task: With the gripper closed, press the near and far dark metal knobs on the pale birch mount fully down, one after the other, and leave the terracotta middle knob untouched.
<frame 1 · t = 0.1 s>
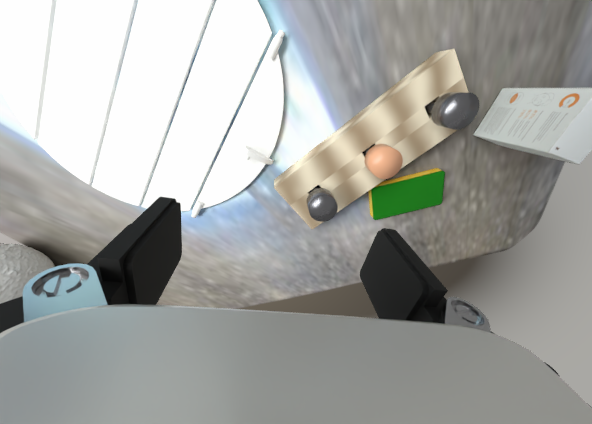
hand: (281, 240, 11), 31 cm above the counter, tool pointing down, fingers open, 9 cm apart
small box: (499, 117, 41), on the counter
middle knob: (377, 157, 35), point 6 cm above the counter, slide at 0.0 cm
lazy susan: (156, 94, 35), on the counter
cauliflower: (44, 280, 49), on the counter
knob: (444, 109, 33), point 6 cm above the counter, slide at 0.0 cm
knob mount: (363, 148, 41), on the counter
dish sponge: (401, 191, 47), on the counter
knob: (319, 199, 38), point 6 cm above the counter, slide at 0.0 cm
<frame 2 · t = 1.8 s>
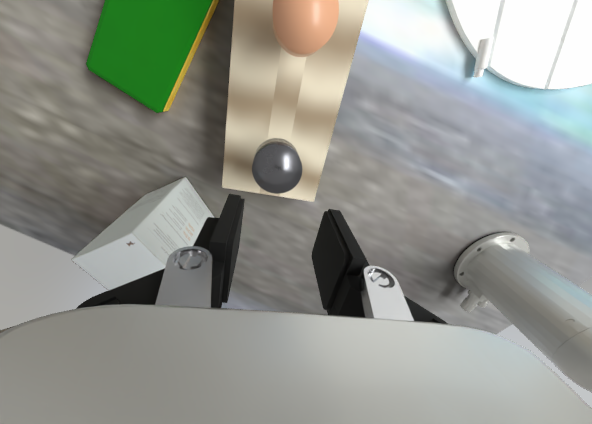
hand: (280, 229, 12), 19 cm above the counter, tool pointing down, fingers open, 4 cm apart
small box: (184, 209, 32), on the counter
middle knob: (300, 24, 18), point 6 cm above the counter, slide at 0.0 cm
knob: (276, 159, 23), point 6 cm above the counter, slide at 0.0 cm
knob mount: (293, 39, 24), on the counter
dish sponge: (162, 29, 23), on the counter
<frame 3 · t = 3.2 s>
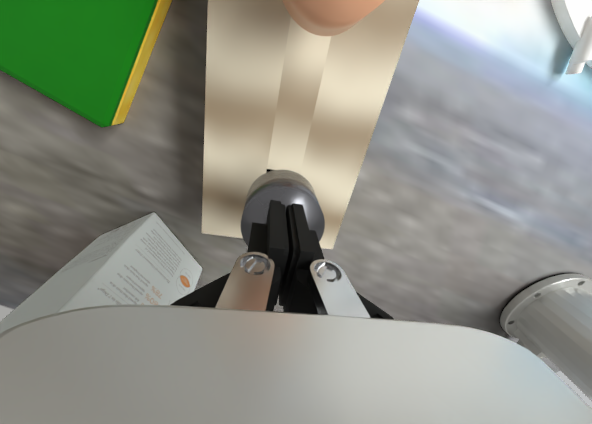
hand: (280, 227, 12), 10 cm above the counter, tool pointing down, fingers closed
small box: (156, 251, 24), on the counter
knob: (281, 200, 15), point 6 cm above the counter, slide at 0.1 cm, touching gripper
knob mount: (307, 15, 16), on the counter
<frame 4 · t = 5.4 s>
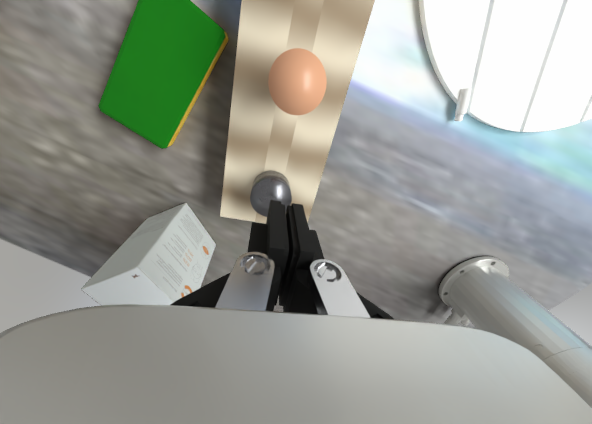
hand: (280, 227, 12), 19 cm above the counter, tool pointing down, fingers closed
small box: (184, 231, 34), on the counter
middle knob: (294, 84, 20), point 6 cm above the counter, slide at 0.0 cm
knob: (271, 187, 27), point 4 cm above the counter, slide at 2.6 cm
knob mount: (289, 85, 26), on the counter
dish sponge: (169, 74, 25), on the counter
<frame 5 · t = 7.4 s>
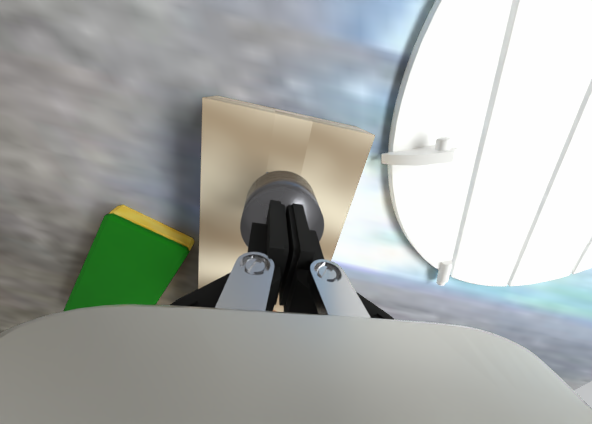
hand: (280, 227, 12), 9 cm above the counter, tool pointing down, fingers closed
knob mount: (261, 268, 25), on the counter
dish sponge: (136, 266, 24), on the counter
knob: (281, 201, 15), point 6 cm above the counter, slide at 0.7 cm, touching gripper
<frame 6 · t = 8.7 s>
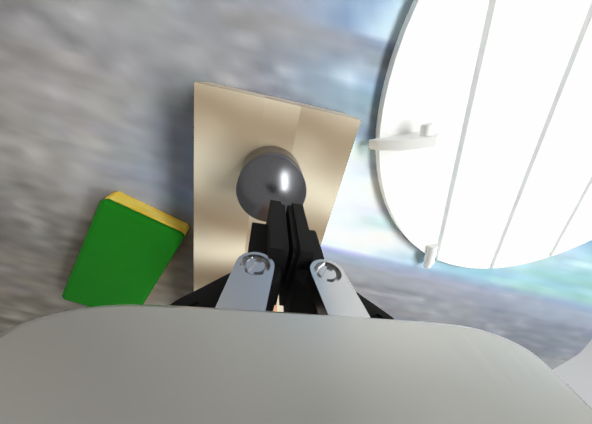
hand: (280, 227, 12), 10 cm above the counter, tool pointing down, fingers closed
middle knob: (251, 300, 20), point 6 cm above the counter, slide at 0.0 cm
lazy susan: (569, 105, 22), on the counter
knob mount: (255, 253, 26), on the counter
dish sponge: (133, 252, 25), on the counter
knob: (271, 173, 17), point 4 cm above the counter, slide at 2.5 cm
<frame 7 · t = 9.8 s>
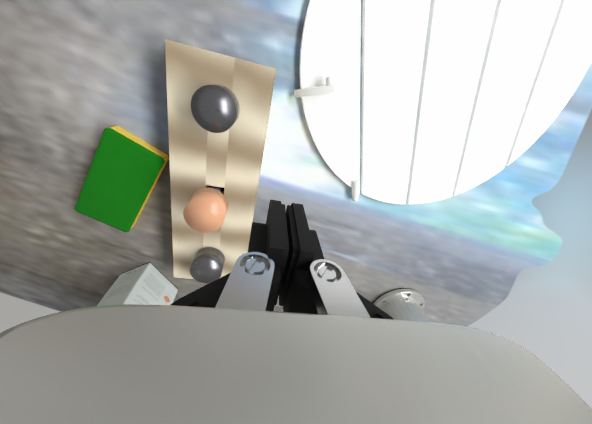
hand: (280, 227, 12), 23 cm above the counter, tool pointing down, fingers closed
small box: (151, 281, 43), on the counter
middle knob: (210, 202, 29), point 6 cm above the counter, slide at 0.0 cm
lazy susan: (442, 69, 30), on the counter
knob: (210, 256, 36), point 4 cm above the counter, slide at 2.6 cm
knob mount: (220, 183, 34), on the counter
dish sponge: (127, 179, 33), on the counter
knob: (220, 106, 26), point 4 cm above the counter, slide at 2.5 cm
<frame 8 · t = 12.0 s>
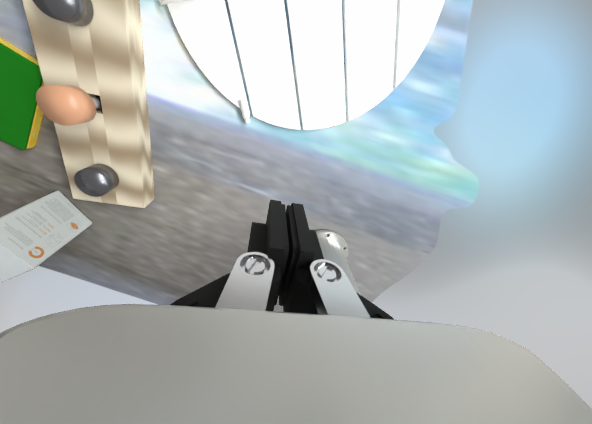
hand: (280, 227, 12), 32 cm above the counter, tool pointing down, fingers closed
small box: (64, 212, 44), on the counter
middle knob: (79, 104, 30), point 6 cm above the counter, slide at 0.0 cm
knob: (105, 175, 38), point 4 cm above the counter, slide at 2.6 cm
knob mount: (109, 101, 36), on the counter
dish sponge: (20, 96, 35), on the counter
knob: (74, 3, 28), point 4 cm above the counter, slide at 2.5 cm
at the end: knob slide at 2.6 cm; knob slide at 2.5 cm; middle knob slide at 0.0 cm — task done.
